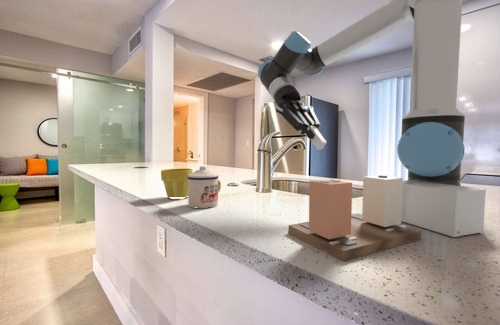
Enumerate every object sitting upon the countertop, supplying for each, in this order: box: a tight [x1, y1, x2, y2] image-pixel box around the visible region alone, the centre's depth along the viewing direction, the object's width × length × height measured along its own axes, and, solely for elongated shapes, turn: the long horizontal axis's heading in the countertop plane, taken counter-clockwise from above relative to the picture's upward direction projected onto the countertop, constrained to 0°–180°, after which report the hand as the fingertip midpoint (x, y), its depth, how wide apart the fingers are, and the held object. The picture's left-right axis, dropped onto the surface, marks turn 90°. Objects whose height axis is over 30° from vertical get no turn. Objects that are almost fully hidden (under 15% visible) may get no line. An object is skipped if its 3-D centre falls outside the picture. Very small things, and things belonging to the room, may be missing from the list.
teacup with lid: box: [187, 165, 222, 209], centre depth 75 cm, size 12×9×12 cm
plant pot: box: [160, 167, 194, 198], centre depth 85 cm, size 10×10×10 cm
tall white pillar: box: [361, 175, 404, 227], centre depth 50 cm, size 5×5×9 cm
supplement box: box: [401, 179, 487, 238], centre depth 55 cm, size 9×9×15 cm
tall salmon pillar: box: [308, 178, 353, 239], centre depth 44 cm, size 5×5×9 cm
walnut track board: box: [287, 212, 422, 262], centre depth 48 cm, size 20×14×2 cm
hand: (322, 145), depth 65 cm, fingers closed
